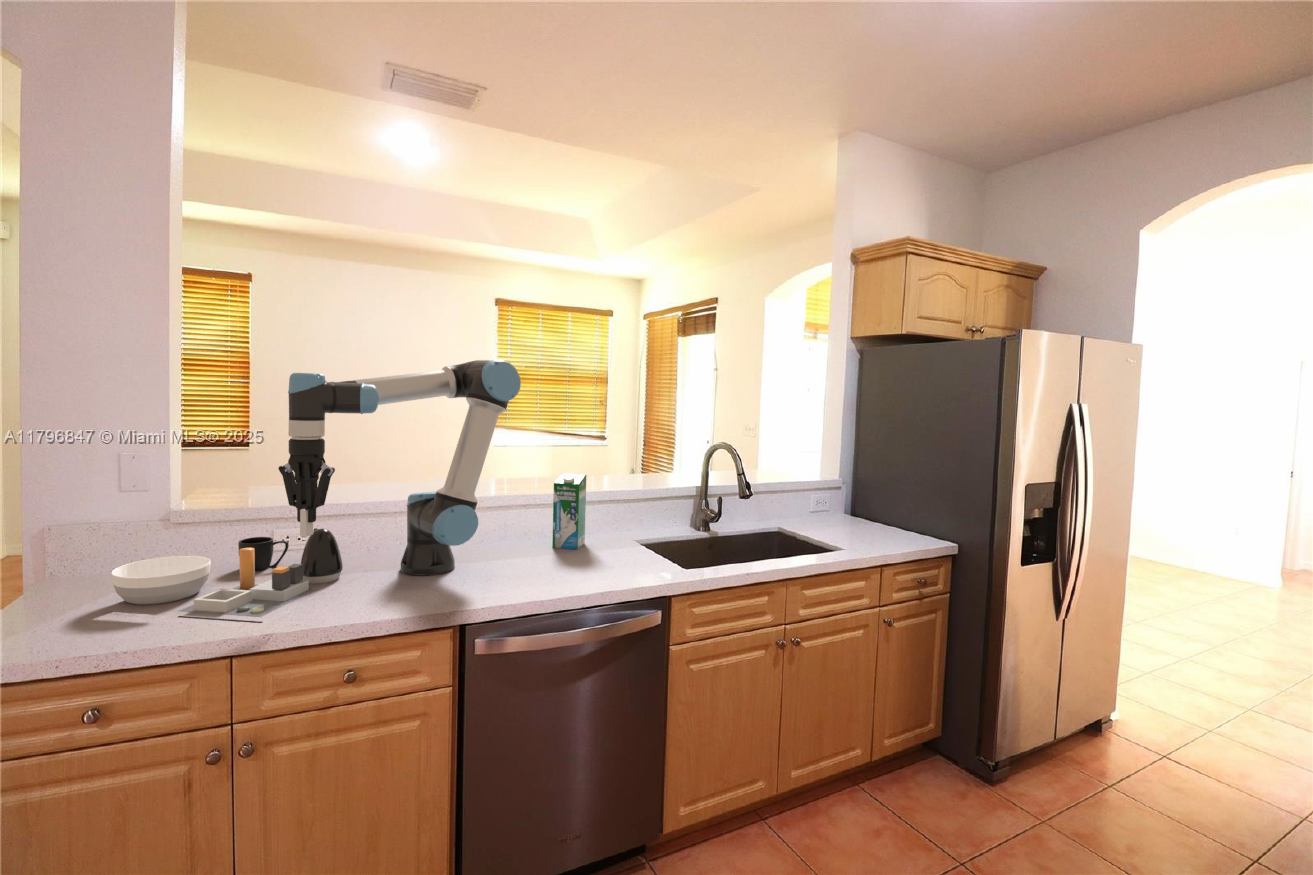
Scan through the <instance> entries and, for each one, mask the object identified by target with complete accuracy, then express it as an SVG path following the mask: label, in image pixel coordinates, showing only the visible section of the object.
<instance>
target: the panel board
mask: <svg viewBox="0 0 1313 875" xmlns="http://www.w3.org/2000/svg"><path fill="white" fill-rule="evenodd" d="M315 590H316V588H311V587H310V583H309V580H302V581H299V582H297V583H290V586H289V587H287V588H284V589H282V590H277V589H272V579H269V580H267V581H265V582H263V583H261V584H255V587H253V588H251V589H247V590H242V589H240V585H238V586H235V587H233V588H220V589H217V590H215V591H214V590H213V591H212V592H210V593H207V594H205V595H202V596H200V597H197V598H194V599H193V604H191V605H190V606H186V607H184V608H182V609H179V610H178V612H182V613H185V612H186V613H199V614H212V615H213V614H214V615H215V614H216V615H229V616H242V617H254V618H255V617H259V618H261V617H263V616H266V615H267V614H270V613H272V612H273V611H275V610H277V609H279V608H281V607H284V606H286V605H287V604H289V603H291V602H293V601H295V600H297V599H300V598H302V597H303V596H305V595H308V594H309V593H312V592H313V591H315ZM177 618H179V619H180V618H182V619H197V620H209V621H211V620H212V621H224V622H226V621H227V622H236V623H237V622H239V623H240V622H241V623H250V624H251V623H253V624H263V621H256V620H242V619H241V620H240V619H229V618H212V617H201V616H186V615H178V616H177Z"/></svg>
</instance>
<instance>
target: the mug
mask: <svg viewBox="0 0 1313 875" xmlns="http://www.w3.org/2000/svg"><path fill="white" fill-rule="evenodd" d="M278 544H284V545H285V546H284V549H283V551H282V554H281V555H280V557H279V558H278V559H277V561H276V562H275V563H274V564H272V559H273V555H274V546H275V545H278ZM237 545H238V551H239V550H240V549H242V548H254V554H255V572H260V571H263V570H267V569H275V568H277V567H278V566H279V564H280V562H281V561H282V559H283V558H284V557H285V555H286V553H287V552H288V550H289V545H290V544H289V541H288V540H279V541H278V540H277V541H274V538H273V537H269V536H255V537H254V536H253V537H248V538H244V539H240V540H239V541H238V544H237Z"/></svg>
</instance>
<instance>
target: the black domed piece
mask: <svg viewBox="0 0 1313 875" xmlns="http://www.w3.org/2000/svg"><path fill="white" fill-rule="evenodd" d="M338 544H339V543H338V541H337V539H336V537H335V535H334V534H333V533H332V532H331V531H330V530H329V529H327V528H317V527H316V528H313V535H310V536H308V539H307V540H306V543H305V545H304V549H303V551H302V555H301V559H300V564H303V580H309V584H325V583H330V582H334V581H337V580H338V579H339V578H340V576H341V573H342V571H343V568H344V567H343V558H342V554H341V550H340V548H339V545H338Z"/></svg>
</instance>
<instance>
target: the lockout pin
mask: <svg viewBox="0 0 1313 875" xmlns="http://www.w3.org/2000/svg"><path fill="white" fill-rule="evenodd" d="M238 558H239V586H240V589H242V590H247V589H251V588H253V587H255V585H256V573H255V572H256V571H255V554H254V548H242V549H240V550H239V549H238Z"/></svg>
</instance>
